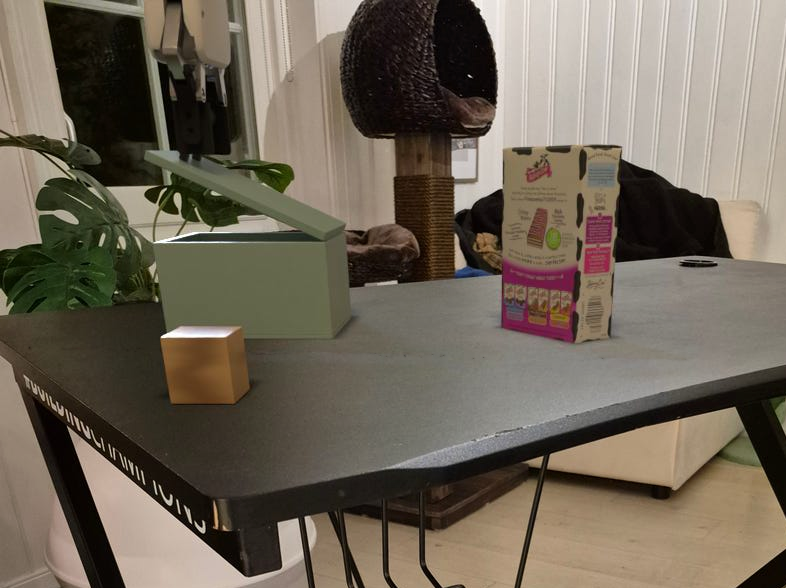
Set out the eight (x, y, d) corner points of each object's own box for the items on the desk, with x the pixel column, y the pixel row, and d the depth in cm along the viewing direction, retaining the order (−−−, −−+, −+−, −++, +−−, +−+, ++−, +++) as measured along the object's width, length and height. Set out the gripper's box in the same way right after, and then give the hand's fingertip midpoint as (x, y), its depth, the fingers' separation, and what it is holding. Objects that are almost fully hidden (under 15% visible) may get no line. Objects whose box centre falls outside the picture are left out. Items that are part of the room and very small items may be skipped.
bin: (168, 344, 85) (152, 242, 81) (206, 322, 96) (193, 232, 92) (333, 344, 85) (325, 242, 81) (351, 322, 96) (345, 231, 92)
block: (170, 404, 65) (159, 337, 62) (189, 389, 69) (180, 326, 67) (234, 404, 65) (226, 337, 62) (250, 389, 69) (242, 326, 66)
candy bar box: (613, 342, 85) (626, 144, 77) (574, 349, 82) (583, 144, 75) (536, 327, 93) (540, 145, 85) (498, 332, 90) (499, 145, 83)
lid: (143, 159, 78) (158, 92, 76) (187, 159, 89) (201, 100, 87) (323, 241, 81) (343, 179, 79) (344, 231, 92) (361, 176, 90)
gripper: (167, -73, 82) (192, 153, 91) (94, -125, 67) (132, 153, 76) (249, -70, 82) (266, 156, 91) (195, -121, 67) (221, 155, 76)
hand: (205, 152), depth 83 cm, fingers closed on lid, 5 cm apart
